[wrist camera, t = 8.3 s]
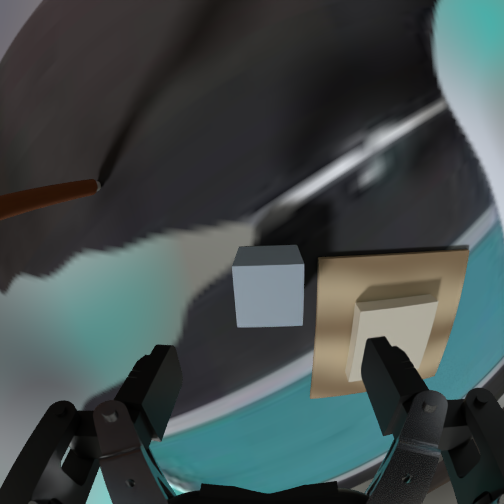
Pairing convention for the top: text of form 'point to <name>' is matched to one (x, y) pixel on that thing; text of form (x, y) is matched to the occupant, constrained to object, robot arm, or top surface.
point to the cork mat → (372, 289)
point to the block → (268, 286)
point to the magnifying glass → (45, 196)
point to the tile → (391, 328)
